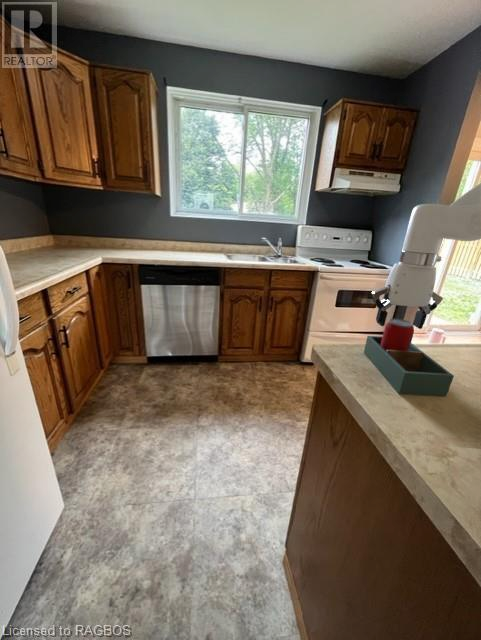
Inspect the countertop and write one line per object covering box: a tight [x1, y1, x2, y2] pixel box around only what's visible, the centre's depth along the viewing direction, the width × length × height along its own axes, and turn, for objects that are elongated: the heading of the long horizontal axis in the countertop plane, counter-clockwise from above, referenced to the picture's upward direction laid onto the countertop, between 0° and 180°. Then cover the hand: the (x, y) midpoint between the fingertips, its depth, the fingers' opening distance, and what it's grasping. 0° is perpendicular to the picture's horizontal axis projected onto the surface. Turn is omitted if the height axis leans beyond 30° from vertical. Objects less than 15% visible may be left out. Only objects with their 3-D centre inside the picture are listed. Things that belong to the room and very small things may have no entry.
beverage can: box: [380, 318, 415, 351], centre depth 73 cm, size 7×7×12 cm
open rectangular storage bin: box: [363, 335, 455, 398], centre depth 69 cm, size 11×20×6 cm, turn 178°
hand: (398, 325), depth 71 cm, fingers open, 9 cm apart
